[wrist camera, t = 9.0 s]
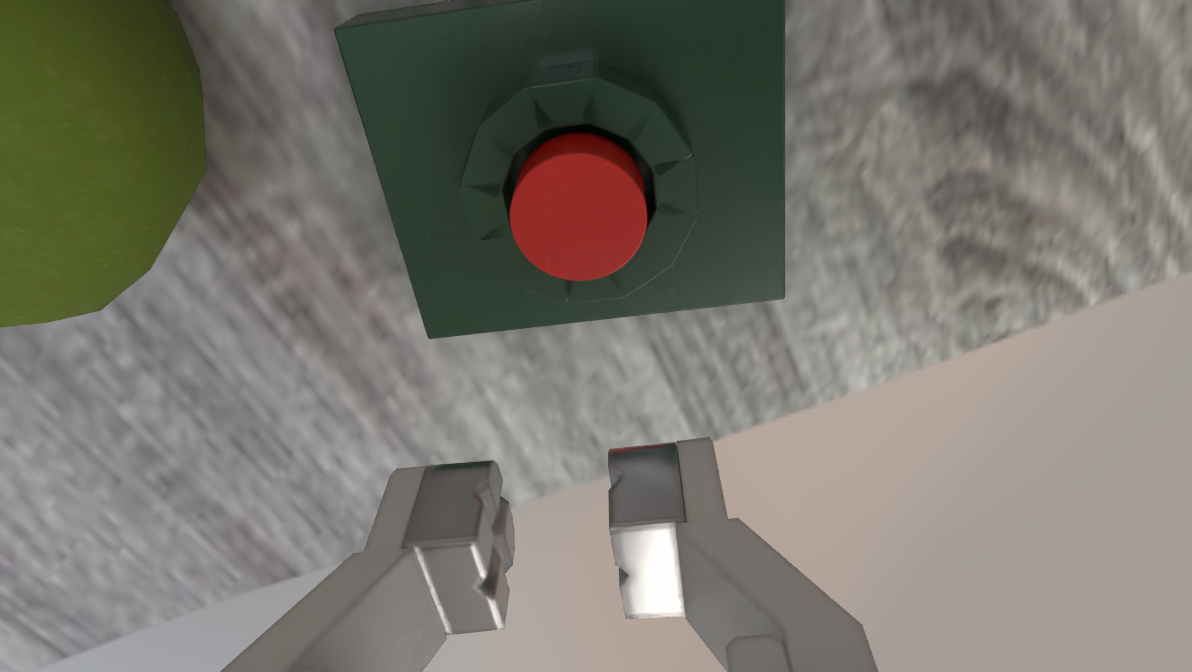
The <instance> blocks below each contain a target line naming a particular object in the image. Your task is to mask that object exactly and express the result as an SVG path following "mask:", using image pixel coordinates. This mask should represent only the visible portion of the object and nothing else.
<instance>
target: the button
mask: <svg viewBox="0 0 1192 672" xmlns="http://www.w3.org/2000/svg"><path fill="white" fill-rule="evenodd" d="M510 225H511V230H512V234H513V237H514V239H515V241H516V244H517V245H518V247H519V249H520V250H521V252H522V253H523V254H524V255H525V257H526V258H527V259H528V260H529V261H530V262H531V263H532V264H534V265H535V266H536V267H538V268H539V269H541V270H542V271H544V272H546V273H548V274H550V275H552V276H555V277H558V278H562V279H567V280H575V281H584V280H592V279H597V278H601V277H604V276H606V275H609V274H611V273H613V272H615V271H616V270H618V269H620V268H621V267H622V266H623V265H625V264H626V263H627V262H628V261H629V260H630V259H631V258H632V257H633V256H634V254H635V253H636V252H637V250H638V249H639V247H640V245H641V243H642V241H643V238H644V236H645V232H646V227H647V208H646V200H645V192H644V185H643V180H642V177H641V174H640V171H639V169H638V167H637V165H636V163H635V162H634V160H633V159H632V158H631V156H630V155H629V154H628V153H627V152H626V151H625V150H624V149H623V148H622V147H620V146H619V145H618V144H616V143H615V142H613V141H611V140H609V139H607V138H605V137H602V136H599V135H596V134H591V133H581V132H577V133H568V134H563V135H559V136H556V137H553V138H551V139H549V140H547V141H545V142H544V143H543V144H541V145H540V146H538V147H537V148H536V149H535V150H534V151H533V152H532V153H531V154H530V155H529V156H528V158H527V159H526V161H525V162H524V164H523V165H522V168H521V170H520V172H519V175H518V179H517V182H516V186H515V190H514V193H513V197H512V201H511V206H510Z"/></svg>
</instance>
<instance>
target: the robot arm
mask: <svg viewBox="0 0 1192 672" xmlns="http://www.w3.org/2000/svg"><path fill="white" fill-rule="evenodd" d="M608 468H609V474H610V481H611V488H610V489H609V529H610V535H611V541H612V547H613V553H614V559H615V564H616V565H617V566H619V583H620V584H619V585H620V592H621V597H622V602H623V608H624V612H625V618H626V619H637V618H656V617H673V616H674V617H675V616H685V617H686V620H687V621H688V622H689V624H690V625H691V626H692V627H693V629H694V630H695V631H696V633H697V634H698V635H699V636H700V638H701V639H702V640H703V641H704V643H705V644H706V645H707V647H708V648H709V649H710V651H711V652H712V653H713V654H714V655H715V657H716V658H717V660H718V661H719V662H720V663H721V664H722V666H723V667H724V669H725V670H726V671H727V672H878V669H877V666H876V664H875V661H874V658H873V655H872V652H871V649H870V646H869V643H868V640H867V638H866V635H865V632H864V629H863V626H862V624H860V623H859V622H858V621H857V620H856V619H855V618H854V617H852V616H851V615H850V614H849V613H848V612H847V611H845V610H844V609H843V608H842V607H841V606H840V605H838V604H837V603H836V602H835V601H834V600H833V599H831V598H830V597H829V596H828V595H827V594H826V593H825V592H823V591H822V590H821V589H820V588H819V587H818V586H816V585H815V584H814V583H813V582H812V581H811V580H810V579H808V578H807V577H806V576H805V575H804V574H803V573H801V572H800V571H799V570H798V569H797V568H796V567H794V566H793V565H792V564H791V563H789V561H787V560H786V559H785V558H784V557H783V556H782V555H780V554H779V553H778V552H777V551H776V550H774V549H773V548H772V547H771V546H770V545H769V544H768V543H767V542H765V541H764V540H763V539H762V538H761V537H760V536H758V535H757V534H756V533H755V532H754V531H753V530H751V529H750V528H749V527H748V526H747V525H746V524H745V523H743V522H742V521H741V520H740V519H739V518H733V519H728V517H727V512H726V507H725V502H724V497H723V491H722V487H721V481H720V476H719V471H718V466H717V461H716V456H715V450H714V445H713V441H712V440H711V438H710V437H707V438H698V439H690V440H682V441H677V442H676V443H675V442H670V443H661V444H652V445H642V446H633V447H623V448H614V449H609V452H608ZM502 482H503V479H502V476H501V473H500V469H499V466H498V463H496V462H495V461H481V462H468V463H454V464H441V465H430V466H423V467H410V468H397V469H396V470H395V471H394V472H393V473H392V474H391V476H390V478H389V481H388V484H387V486H386V489H385V492H384V495H383V498H382V501H381V503H380V506H379V509H378V512H377V515H376V518H375V520H374V523H373V526H372V529H371V532H370V535H369V537H368V540H367V543H366V546H365V549H364V551H363V552H360V553H353V554H352V555H351V556H350V557H349V558H348V559H346V560H345V561H344V562H343V563H342V564H341V565H340V566H339V567H337V568H336V569H335V570H334V571H333V572H332V573H331V574H330V575H328V576H327V577H326V578H325V579H324V580H323V581H322V582H321V583H320V584H318V585H317V586H316V587H315V588H314V589H313V590H312V591H311V592H309V593H308V594H307V595H306V596H305V597H304V598H303V599H301V600H300V601H299V602H298V603H297V604H296V605H295V606H293V607H292V609H290V610H289V611H288V612H287V613H286V614H284V615H283V616H282V617H281V618H280V619H279V620H278V621H277V622H276V623H275V624H274V625H272V626H271V627H270V628H269V629H268V630H266V631H265V632H264V633H263V634H262V635H261V636H260V637H259V638H258V639H256V640H255V641H254V642H253V643H252V644H251V645H250V646H248V647H247V648H246V649H245V650H244V651H243V652H242V653H241V654H239V655H238V656H237V657H236V658H235V659H234V660H233V661H232V662H231V663H229V664H228V665H227V666H226V667H225V668H224V669H223V670H222V671H220V672H422V671H423V670H424V669H425V668H426V666H427V665H428V664H429V662H430V661H431V659H432V658H433V657H434V655H435V654H436V652H437V651H438V650H439V648H440V647H441V646H442V645H443V643H444V642H445V640H446V639H447V638H446V635H454V634H463V633H472V632H481V631H491V630H499V629H504V628H505V620H506V613H507V605H508V598H509V591H510V590H509V586H508V583H507V579H506V576H505V573H506V572H507V571H508V570H509V568H510V567H511V566H512V565H513V559H514V550H515V547H514V546H515V544H514V524H513V517H512V512H511V508H510V504H509V502H508V501H507V500H505V499H504V498H503V497H502V496H501V489H502Z"/></svg>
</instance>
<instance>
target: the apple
mask: <svg viewBox="0 0 1192 672" xmlns="http://www.w3.org/2000/svg"><path fill="white" fill-rule="evenodd" d="M206 170H207V167H206V149H205V130H204V112H203V97H202V88H201V79H200V70H199V67H198V64H197V62H196V59H195V57H194V54H193V52H192V49H191V47H190V44H189V42H188V39H187V37H186V34H185V32H184V29H183V27H182V25H181V22H180V20H179V17H178V15H177V13H176V12H175V11H174V10H173V9H172V7H171V6H170V5H169V4H168V3H167V2H166V1H165V0H0V327H9V326H19V325H28V324H38V323H48V322H52V321H56V320H61V319H65V318H70V317H74V316H78V315H83V314H87V313H91V312H96V311H100V310H102V309H103V308H104V307H105V306H107V305H108V304H109V303H110V302H111V301H113V300H114V299H115V298H116V297H117V296H119V295H120V294H121V293H122V292H124V291H125V290H126V289H127V288H128V287H130V286H131V285H132V284H133V283H134V282H136V281H137V280H138V279H139V278H141V277H142V276H143V275H144V274H145V273H147V272H148V271H149V270H150V269H151V267H152V265H153V264H154V262H155V260H156V259H157V257H158V255H159V253H160V252H161V250H162V248H163V247H164V245H165V243H166V241H167V240H168V238H169V236H170V234H171V233H172V231H173V229H174V228H175V226H176V224H177V222H178V221H179V219H180V217H181V215H182V213H183V212H184V210H185V208H186V206H187V204H188V203H189V201H190V199H191V197H192V196H193V194H194V192H195V190H196V188H197V187H198V185H199V183H200V181H201V179H202V178H203V176H204V174H205V172H206Z"/></svg>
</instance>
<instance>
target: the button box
mask: <svg viewBox="0 0 1192 672" xmlns="http://www.w3.org/2000/svg"><path fill="white" fill-rule="evenodd" d="M334 32H335V35H336V39H337V42H338V45H339V49H340V52H341V55H342V58H343V62H344V65H345V68H346V71H347V75H348V78H349V81H350V85H351V88H352V91H353V94H354V98H355V101H356V104H357V107H358V111H359V114H360V117H361V120H362V124H363V127H364V130H365V134H366V137H367V140H368V143H369V147H370V150H371V153H372V156H373V160H374V163H375V166H376V170H377V173H378V176H379V179H380V183H381V186H382V189H383V192H384V196H385V199H386V202H387V206H388V209H389V212H390V215H391V219H392V222H393V225H394V228H395V232H396V235H397V238H398V241H399V245H400V248H401V251H402V255H403V258H404V261H405V264H406V268H407V271H408V274H409V277H410V281H411V284H412V287H413V291H414V294H415V297H416V300H417V304H418V307H419V310H420V313H421V317H422V320H423V323H424V327H425V330H426V333H427V336H428V338H429V339H434V338H443V337H452V336H461V335H470V334H478V333H487V332H496V331H505V330H514V329H523V328H532V327H540V326H549V325H558V324H567V323H576V322H585V321H594V320H602V319H611V318H620V317H629V316H638V315H647V314H655V313H664V312H673V311H682V310H691V309H700V308H709V307H717V306H726V305H735V304H744V303H753V302H762V301H771V300H779V299H784V297H785V0H452V1H445V2H439V3H432V4H425V5H419V6H412V7H405V8H399V9H392V10H385V11H379V12H372V13H365V14H359V15H356V16H354V17H353V18H351V19H349V20H348V21H346V22H344V23H343V24H341V25H339V26H338V27H336V28H335V29H334ZM577 132H581V133H591V134H596V135H599V136H602V137H605V138H607V139H609V140H611V141H613V142H615V143H616V144H618V145H619V146H620V147H622V148H623V149H624V150H625V151H626V152H627V153H628V154H629V155H630V156H631V158H632V159H633V160H634V162H635V163H636V165H637V167H638V169H639V171H640V174H641V177H642V180H643V185H644V192H645V200H646V208H647V227H646V232H645V236H644V238H643V241H642V243H641V245H640V247H639V249H638V250H637V252H636V253H635V254H634V256H633V257H632V258H631V259H630V260H629V261H628V262H627V263H626V264H625V265H623V266H622V267H621V268H620V269H618V270H616V271H615V272H613V273H611V274H609V275H606V276H604V277H601V278H597V279H592V280H584V281H575V280H567V279H562V278H558V277H555V276H552V275H550V274H548V273H546V272H544V271H542V270H541V269H539V268H538V267H536V266H535V265H534V264H532V263H531V262H530V261H529V260H528V259H527V258H526V257H525V255H524V254H523V253H522V252H521V250H520V249H519V247H518V245H517V244H516V241H515V239H514V237H513V234H512V230H511V225H510V206H511V201H512V197H513V193H514V190H515V186H516V182H517V179H518V175H519V172H520V170H521V168H522V165H523V164H524V162H525V161H526V159H527V158H528V156H529V155H530V154H531V153H532V152H533V151H534V150H535V149H536V148H537V147H538V146H540V145H541V144H543V143H544V142H545V141H547V140H549V139H551V138H553V137H556V136H559V135H563V134H568V133H577Z"/></svg>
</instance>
